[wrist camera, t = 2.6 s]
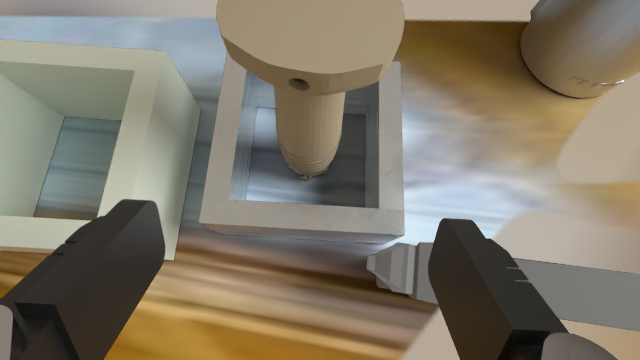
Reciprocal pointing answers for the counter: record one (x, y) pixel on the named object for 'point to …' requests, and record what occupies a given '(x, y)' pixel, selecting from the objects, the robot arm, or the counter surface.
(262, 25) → the handle
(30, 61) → the cradle block
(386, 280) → the tapered grey rod
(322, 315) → the counter surface
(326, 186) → the counter surface
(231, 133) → the bore block
